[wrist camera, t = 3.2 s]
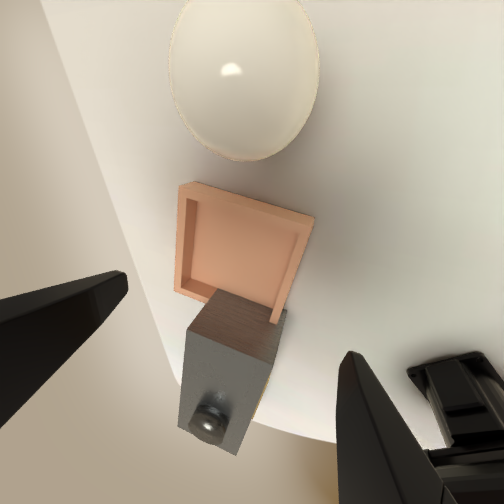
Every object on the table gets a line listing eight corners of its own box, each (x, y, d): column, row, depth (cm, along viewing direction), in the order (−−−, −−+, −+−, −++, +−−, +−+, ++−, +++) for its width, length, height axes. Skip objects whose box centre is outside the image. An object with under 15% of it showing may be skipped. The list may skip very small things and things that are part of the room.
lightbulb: (233, 145, 19) (137, 150, 9) (244, 45, 16) (119, -93, 6) (308, 160, 18) (285, 184, 8) (337, 57, 15) (350, -92, 5)
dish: (314, 217, 19) (313, 227, 17) (279, 314, 25) (274, 330, 23) (193, 181, 21) (178, 186, 19) (186, 278, 27) (173, 290, 25)
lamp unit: (219, 285, 26) (175, 343, 19) (290, 312, 25) (273, 386, 17) (203, 376, 35) (169, 440, 27) (255, 400, 33) (234, 474, 26)
